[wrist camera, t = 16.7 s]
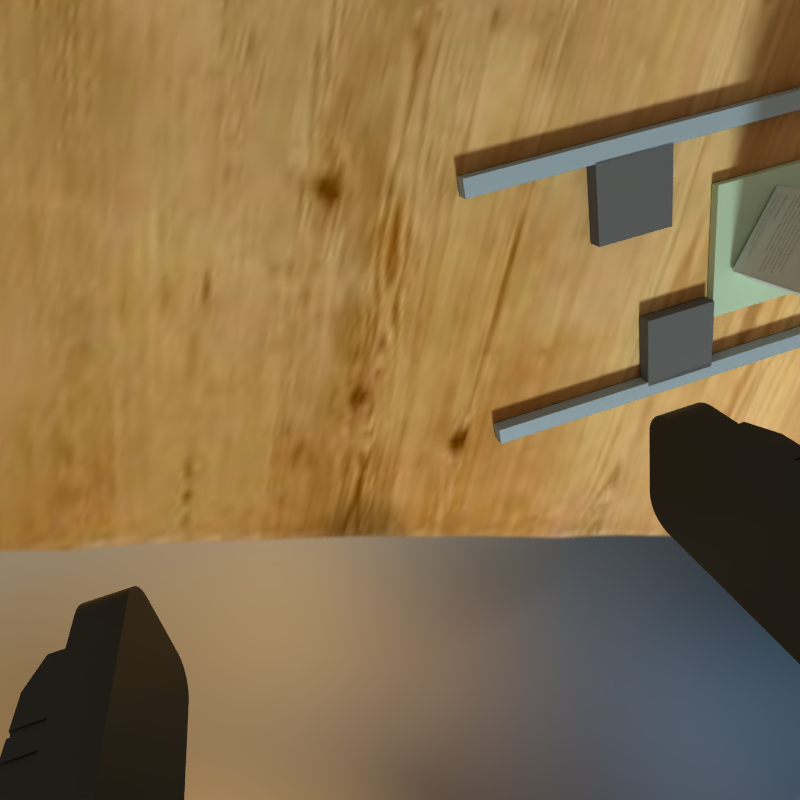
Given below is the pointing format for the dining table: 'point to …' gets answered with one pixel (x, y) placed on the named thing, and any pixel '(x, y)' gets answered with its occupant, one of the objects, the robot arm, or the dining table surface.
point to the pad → (741, 234)
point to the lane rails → (597, 152)
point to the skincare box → (775, 243)
